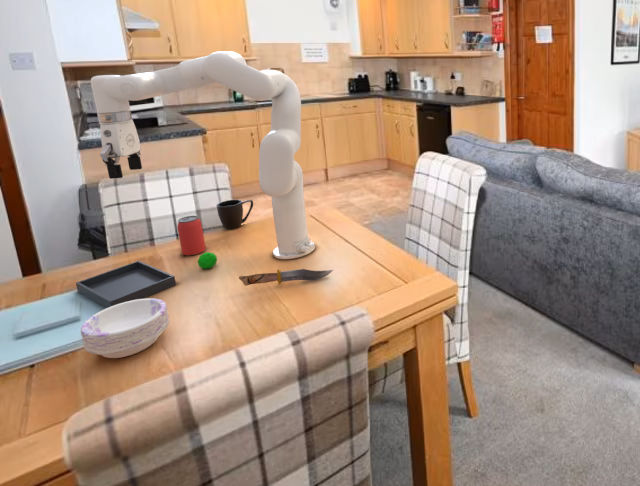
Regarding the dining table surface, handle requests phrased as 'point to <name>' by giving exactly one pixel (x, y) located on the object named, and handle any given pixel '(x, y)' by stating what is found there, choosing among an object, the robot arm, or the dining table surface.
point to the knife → (284, 276)
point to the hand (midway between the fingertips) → (126, 173)
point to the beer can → (191, 235)
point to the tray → (125, 284)
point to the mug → (232, 213)
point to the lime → (207, 260)
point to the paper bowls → (125, 328)
